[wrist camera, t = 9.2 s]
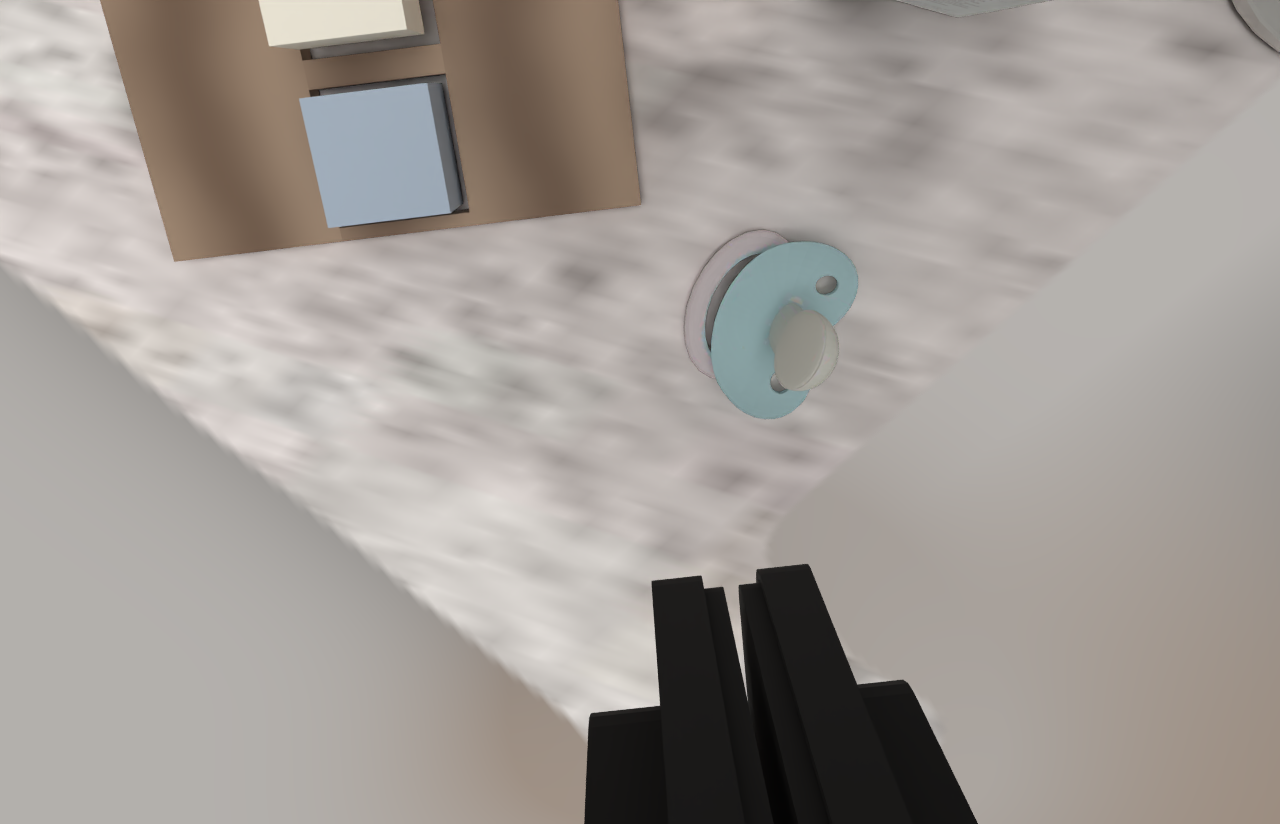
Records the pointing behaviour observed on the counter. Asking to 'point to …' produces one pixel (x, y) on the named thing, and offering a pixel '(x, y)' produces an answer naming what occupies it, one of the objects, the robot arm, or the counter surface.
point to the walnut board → (277, 77)
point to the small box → (968, 5)
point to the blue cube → (382, 154)
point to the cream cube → (338, 21)
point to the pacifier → (770, 320)
